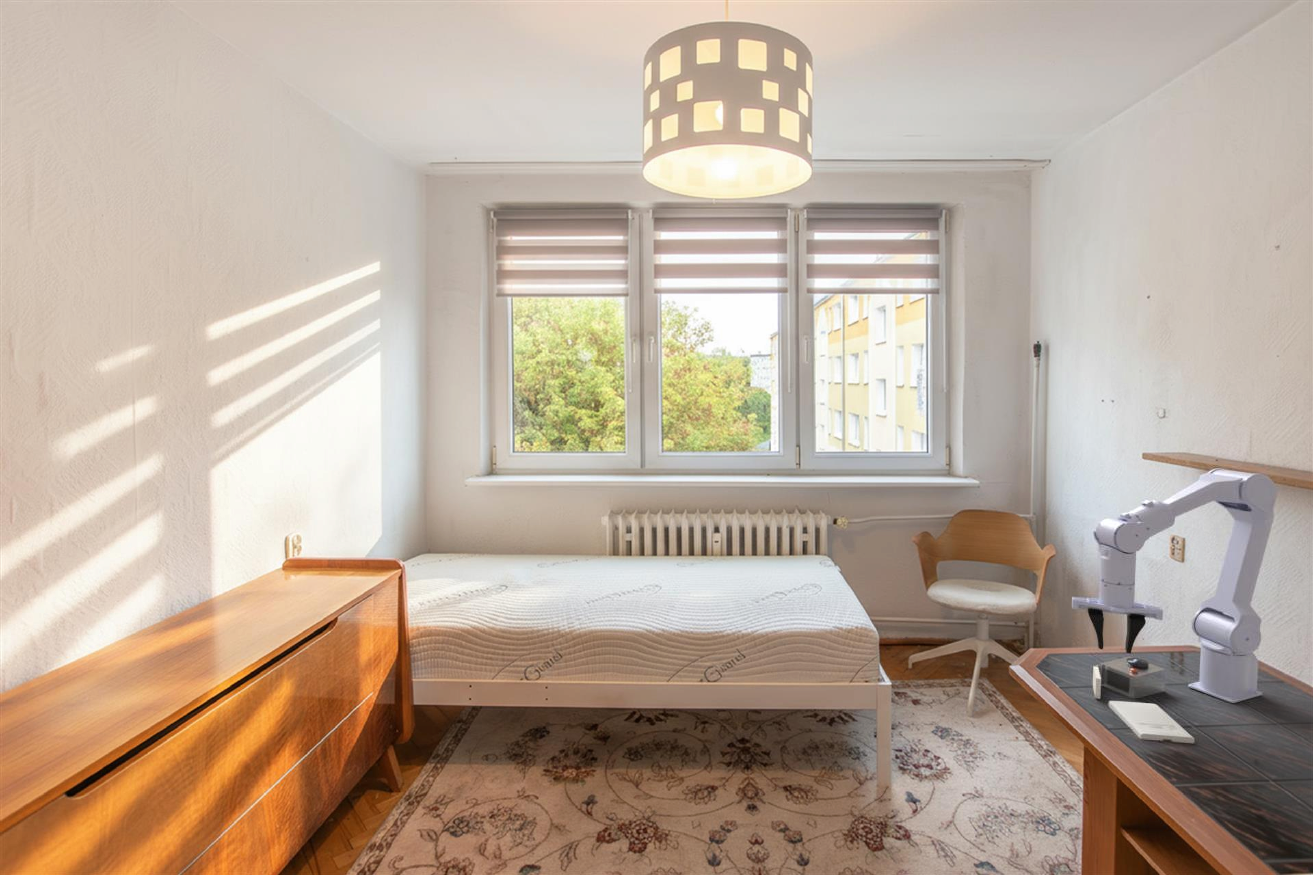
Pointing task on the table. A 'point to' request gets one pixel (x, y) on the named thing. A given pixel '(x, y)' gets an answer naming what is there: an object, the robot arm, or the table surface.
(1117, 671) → the camera body
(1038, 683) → the table surface
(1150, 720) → the external hard drive
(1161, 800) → the table surface
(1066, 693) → the table surface
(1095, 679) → the side door
